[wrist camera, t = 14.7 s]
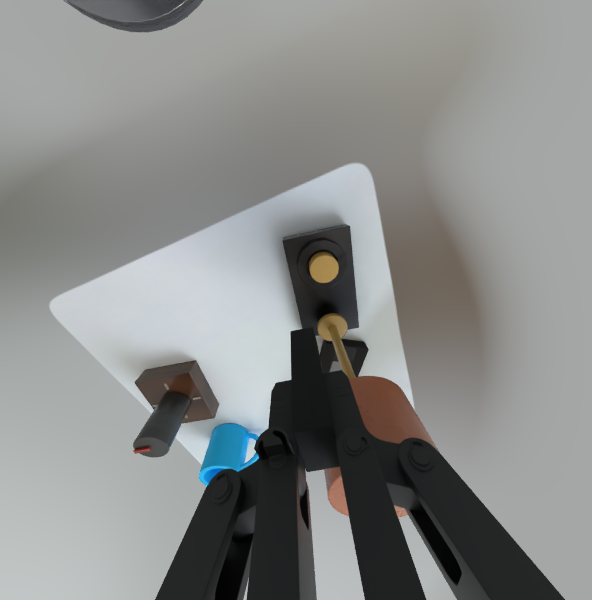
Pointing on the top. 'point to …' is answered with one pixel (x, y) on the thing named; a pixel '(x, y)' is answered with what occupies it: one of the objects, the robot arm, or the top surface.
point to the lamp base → (316, 295)
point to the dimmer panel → (180, 388)
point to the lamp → (370, 409)
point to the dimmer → (162, 425)
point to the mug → (226, 451)
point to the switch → (323, 267)
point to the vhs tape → (354, 352)
